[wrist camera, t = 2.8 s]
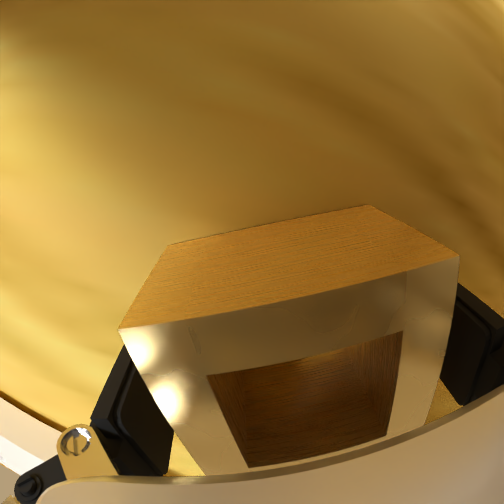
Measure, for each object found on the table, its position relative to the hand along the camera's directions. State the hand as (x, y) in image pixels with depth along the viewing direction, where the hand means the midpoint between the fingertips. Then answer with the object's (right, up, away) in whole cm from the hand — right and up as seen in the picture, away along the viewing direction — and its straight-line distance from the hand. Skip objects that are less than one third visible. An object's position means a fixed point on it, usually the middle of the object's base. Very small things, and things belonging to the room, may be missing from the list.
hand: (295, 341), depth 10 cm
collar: (0, +1, +2) cm, 2 cm away
